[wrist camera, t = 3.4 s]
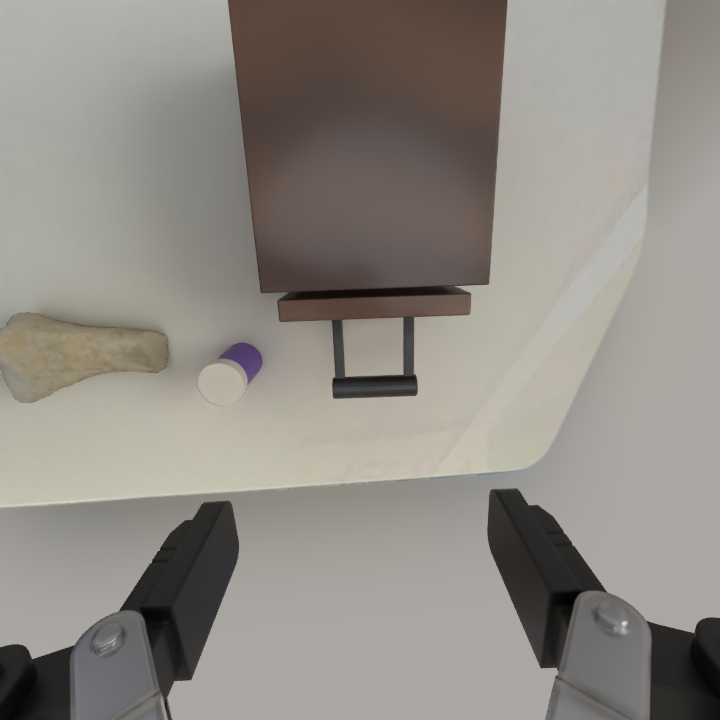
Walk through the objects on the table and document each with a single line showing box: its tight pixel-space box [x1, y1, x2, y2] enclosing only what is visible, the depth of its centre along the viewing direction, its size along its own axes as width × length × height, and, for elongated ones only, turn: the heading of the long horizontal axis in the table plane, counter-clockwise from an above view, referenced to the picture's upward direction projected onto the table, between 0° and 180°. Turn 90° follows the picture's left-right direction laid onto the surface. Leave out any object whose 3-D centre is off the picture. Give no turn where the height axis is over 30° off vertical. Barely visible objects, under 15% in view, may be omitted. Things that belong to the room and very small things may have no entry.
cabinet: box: [228, 0, 507, 293], centre depth 21 cm, size 14×12×9 cm
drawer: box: [277, 286, 471, 399], centre depth 23 cm, size 18×10×7 cm, turn 2°
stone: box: [0, 313, 168, 403], centre depth 27 cm, size 11×6×5 cm, turn 104°
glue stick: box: [197, 343, 262, 406], centre depth 27 cm, size 3×3×6 cm
